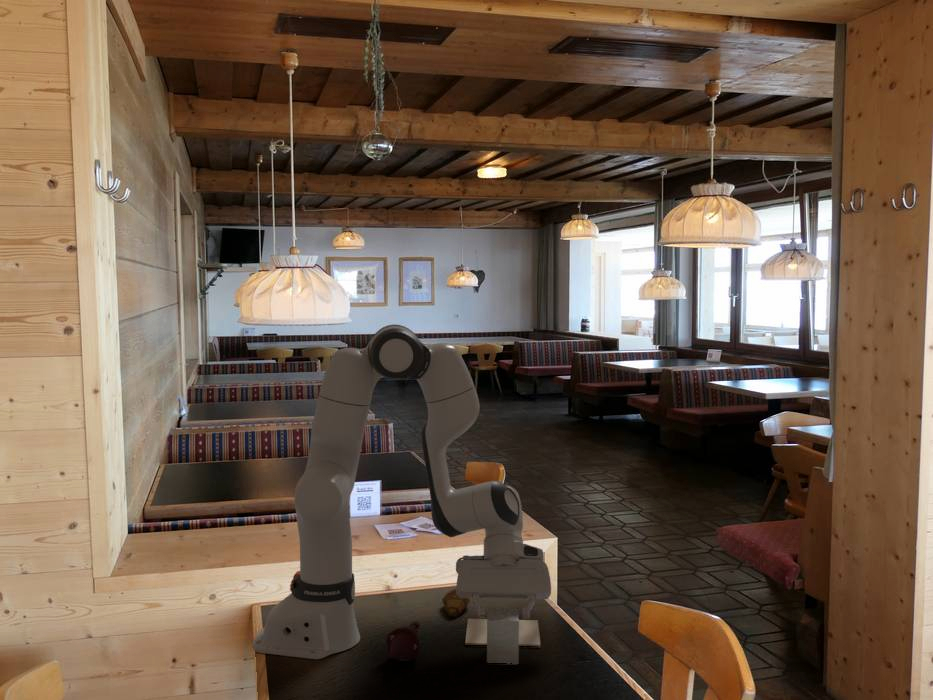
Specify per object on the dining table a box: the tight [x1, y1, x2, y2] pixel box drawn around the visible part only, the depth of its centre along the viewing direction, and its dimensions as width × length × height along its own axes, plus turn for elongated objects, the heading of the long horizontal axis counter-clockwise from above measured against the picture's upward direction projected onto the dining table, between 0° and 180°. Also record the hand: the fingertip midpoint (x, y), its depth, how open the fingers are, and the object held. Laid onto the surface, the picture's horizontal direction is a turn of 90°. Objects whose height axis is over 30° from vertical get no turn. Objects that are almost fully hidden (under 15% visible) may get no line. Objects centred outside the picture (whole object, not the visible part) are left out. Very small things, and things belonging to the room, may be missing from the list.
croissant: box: [442, 588, 471, 619], centre depth 190 cm, size 14×7×5 cm, turn 173°
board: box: [464, 618, 541, 648], centre depth 175 cm, size 16×13×1 cm
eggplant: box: [385, 620, 421, 662], centre depth 162 cm, size 7×7×15 cm
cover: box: [486, 607, 520, 665], centre depth 164 cm, size 6×6×9 cm
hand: (503, 617), depth 165 cm, fingers open, 8 cm apart
